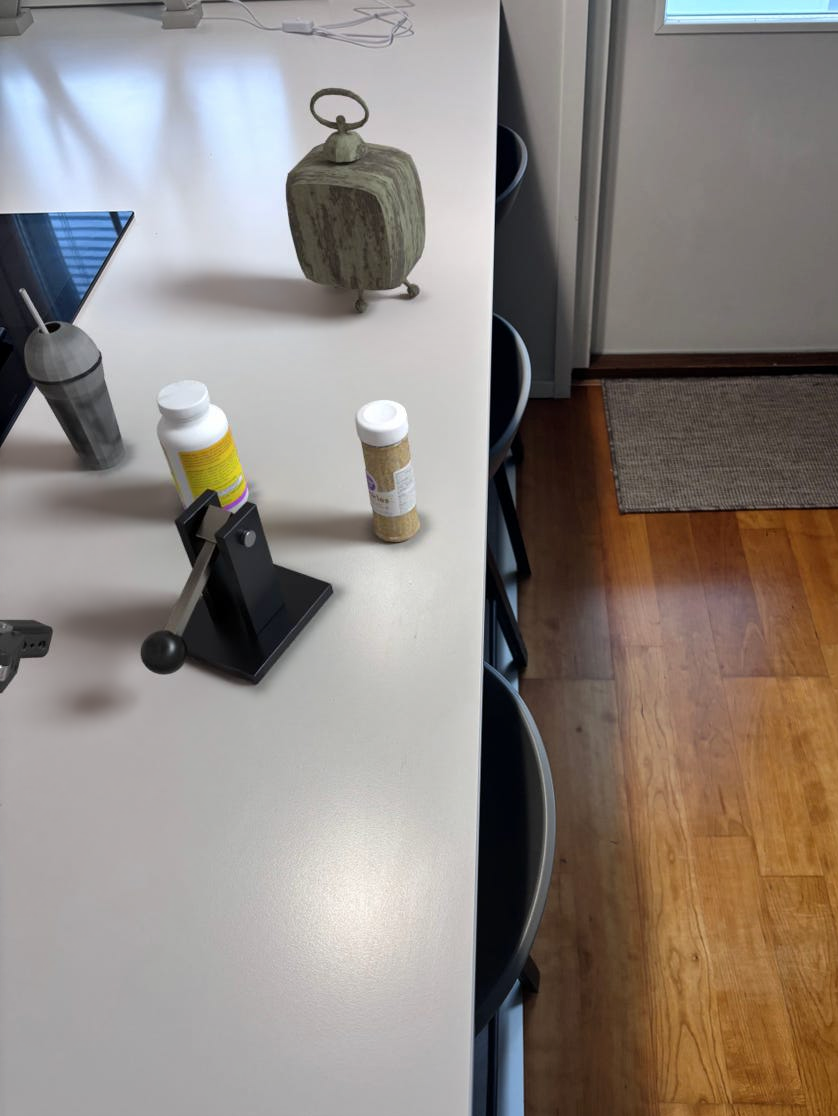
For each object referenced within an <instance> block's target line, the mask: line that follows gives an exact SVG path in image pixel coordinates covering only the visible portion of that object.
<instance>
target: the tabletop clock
mask: <svg viewBox="0 0 838 1116" xmlns="http://www.w3.org/2000/svg"><path fill="white" fill-rule="evenodd" d="M324 96H342V97H346V98H350V99H351V100H354V101H355V102H356V103H358V104H359V105H360V106H361V107H362V109H363V111H364V117H363V118H362V119H361V120H359V121H356V122H347V120H346V117H345V116H344V115H343V114H339V115H337V116H336V117H335V121H330V120H327V119H325V118H323V117H321V116H320V115H319V114H317V112H316V110H315V104H316V102H317V101H318V100H319V99H320V98H322V97H324ZM309 110H310V113H311V115H312V116H313V118H314V119H315V120H316V121H317V122H318V123H319V124H320V125H322V126H325V127H327V128H329V129H332V130H336V131H333V132H332V133H331V134H330V135H329V136H328V137H327V138H326V140H324V142H322V143H319V144H317V145H316V146H313V147H312V148H311V150H310V151H309V152H308V153H306V154H305V156H304V157H303V158H302V159H301V160H300V161H298V162H297V164H296V165H295V166H294V167H292V169H291V170H290V171H288V173H287V175H286V181H285V202H286V210H287V218H288V224H289V225H288V226H289V231H290V234H291V237H292V242H293V246H294V250H295V254H296V258H297V261H298V264H299V267H300V269H301V272H302V273H303V275H304V277H305V279H307V280H309V281H311V282H312V283H316V284H319V285H322V286H328V287H332V288H335V289H339V288H340V289H346V290H355V291H356V292H357V299H356V300H355V301H354V303H353V304H354V305H353V306H354V309H355V310H356V312H358V313H364V312H366V310H367V308H368V303H367V302H366V300H364V296H363V295H364V291H371V292H372V291H373V292H376V291H377V292H380V291H391V290H394V289H397V288H400V287H402V285H404V286H405V287H406V288H407V289H406V292H407V294H408V296H409V297H412V298H416V297H418V295H419V294H420V291H421V289H420V287H419V285H418V284H416V283H410V280H408V276H409V275H410V274H411V272H412V271H413V269H414V268H415V266H416V265H417V264H418V262H419V261H420V259H421V258H422V256H423V253H424V250H425V246H426V233H427V232H426V207H425V201H424V195H423V188H422V183H421V178H420V176H419V175H420V174H419V172H418V169H417V168H418V167H417V166H416V164H415V162H414V159H413V157H412V155H411V154H410V153H408V152H406V151H404V150H402V149H400V148H397V147H394V146H391V145H384V144H378V143H372V142H367V141H365V140H364V139H363V138H362V136H361V134H360V133H358V132H357V131H354V130H358V129H360V128H362V127H364V126H365V125H366V123H367V122H368V120H369V118H370V111H369V107H368V105H367V103H366V102H365V100H364V99H363V98H362V97H360V95H359V94H357V93H356V92H354V91H352V90H350V89H345V88H341V87H326V88H321V89H320V90H318V91H316V92H315V93H314V94H313V96H312V97H311V98H310V101H309Z"/></svg>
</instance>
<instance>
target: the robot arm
mask: <svg viewBox="0 0 838 1116" xmlns="http://www.w3.org/2000/svg"><path fill="white" fill-rule="evenodd" d="M53 634H54V628H53V627H52V626H51V625H48V624H45V623H43V622H40V621H38V620H35V619H0V694H3V693H4V692H5V690H6V689H7V687H9V685H10V683H11V682H12V680H13V679H14V678H15V677H16V676H17V674H18V671H19V667H20V662H21V659H38V658H39V659H42V658H44V657H46V656H47V655H48V653H49V650H50V647H51V643H52V639H53Z"/></svg>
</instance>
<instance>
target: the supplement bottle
mask: <svg viewBox="0 0 838 1116" xmlns="http://www.w3.org/2000/svg"><path fill="white" fill-rule="evenodd" d="M155 399H156V404H157V407H158V411H159V413H160V414H161V415H162V416H160V419H159V420H158V422H157V425H156V435H157V439H158V442H159V444H160V446H161V449H162V451H163V455H164V458H165V460H166V464H167V465H168V467H169V471H170V475H171V476H172V480H173V483H174V486H175V488H176V490H177V493H178V496H179V498H180V501H181V504H182V506H183V508H184V511H185V510H186V509H187V508H188V507H189V506H190V505H191V504H192V503H193V502H194V501H195V500H196V499H197V498H198V497H199V496H200V495H201V494H202V493H203V492H204V491H205V490H206V489H211V490H214V491H216V492H217V494H218V497H219V500H220V503H221V506H222V509H225V510H228V511H231V512H232V513H234V514H235V513H236V512H237V511H238V510H239V508H240V507H241V506H242V505H243V504H244V503H245V502H247V501H248V498H249V488H248V484H247V481H246V477H245V474H244V471H243V467H242V464H241V461H240V458H239V455H238V451H237V448H236V444H235V440H234V438H233V435H232V431H231V428H230V425H229V421H228V418H227V415H226V414H225V412H224V411H223V410H222V409H221V408H220V407H218V406H217V405H216V404H213V403H211V397H210V393H209V391H208V389H207V386H206V385H205V384H203V382H200V381H196V380H192V379H191V380H189V379H188V380H187V379H186V380H185V379H184V380H179V381H175V382H172V383H170V384H167V385H166V386H164V387H163V388H161V389H160V390H159V391H158V393H157V395H156V398H155Z"/></svg>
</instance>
